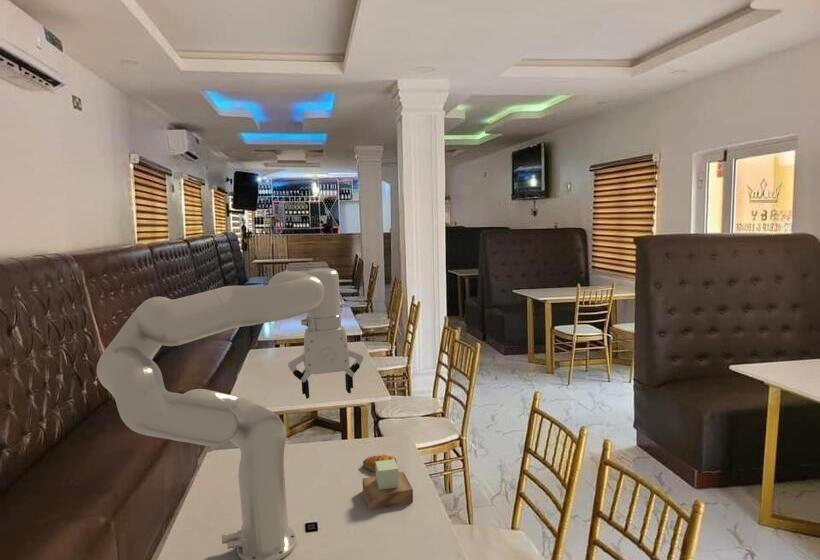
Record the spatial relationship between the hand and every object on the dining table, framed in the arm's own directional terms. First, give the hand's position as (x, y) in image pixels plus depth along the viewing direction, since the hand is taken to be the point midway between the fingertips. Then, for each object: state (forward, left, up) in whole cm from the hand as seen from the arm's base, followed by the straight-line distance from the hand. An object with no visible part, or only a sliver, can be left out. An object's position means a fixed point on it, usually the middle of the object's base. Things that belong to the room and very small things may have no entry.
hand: (328, 393), depth 126 cm
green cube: (+14, +3, -27) cm, 30 cm away
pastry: (+16, +18, -31) cm, 39 cm away
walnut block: (+14, +3, -31) cm, 34 cm away
